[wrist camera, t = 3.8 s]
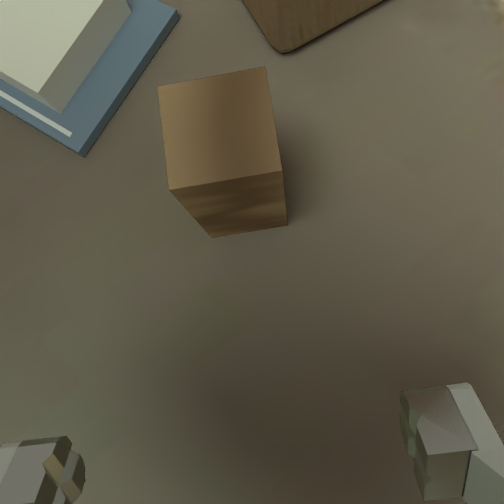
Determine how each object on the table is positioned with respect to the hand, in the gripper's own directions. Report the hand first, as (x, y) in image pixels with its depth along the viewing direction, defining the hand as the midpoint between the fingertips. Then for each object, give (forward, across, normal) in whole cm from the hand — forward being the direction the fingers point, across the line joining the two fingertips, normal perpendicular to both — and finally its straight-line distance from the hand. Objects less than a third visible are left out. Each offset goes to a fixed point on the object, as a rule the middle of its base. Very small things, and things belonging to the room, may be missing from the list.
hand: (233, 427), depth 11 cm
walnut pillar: (+17, 0, +3) cm, 18 cm away
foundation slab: (+26, +11, -7) cm, 29 cm away
